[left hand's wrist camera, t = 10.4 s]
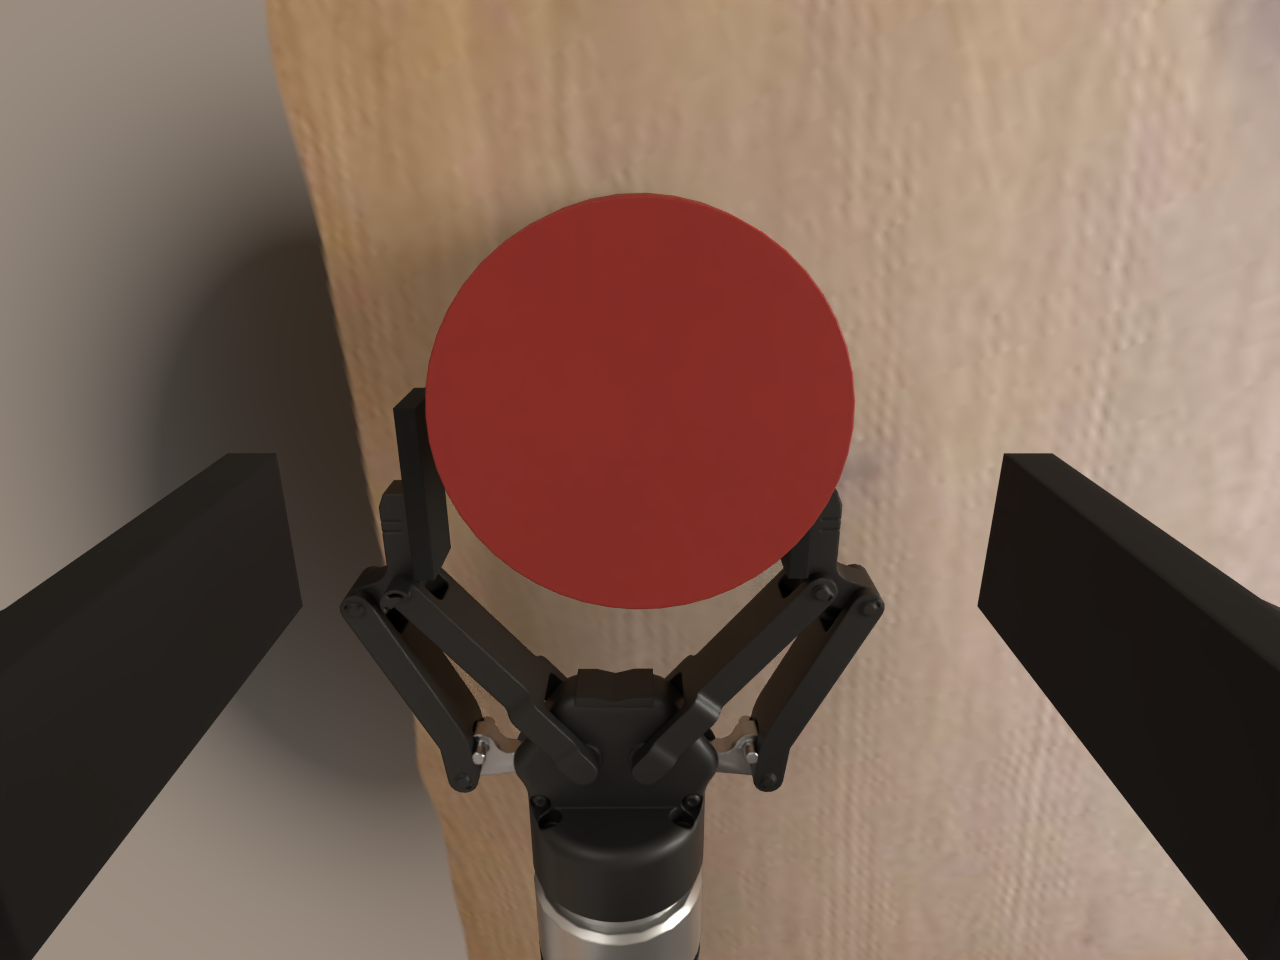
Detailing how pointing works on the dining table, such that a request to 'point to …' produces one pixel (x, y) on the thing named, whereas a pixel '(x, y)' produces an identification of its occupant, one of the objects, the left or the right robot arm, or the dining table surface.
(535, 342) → the lid
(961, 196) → the dining table surface
